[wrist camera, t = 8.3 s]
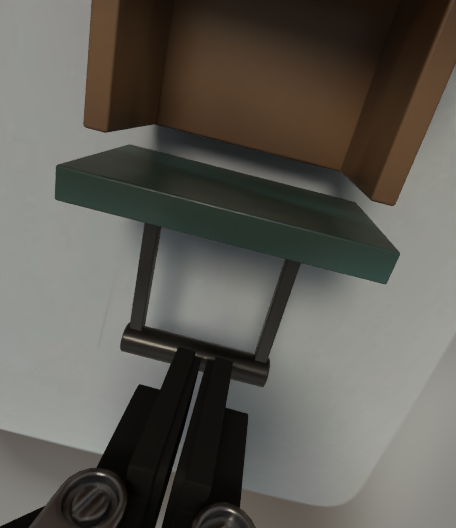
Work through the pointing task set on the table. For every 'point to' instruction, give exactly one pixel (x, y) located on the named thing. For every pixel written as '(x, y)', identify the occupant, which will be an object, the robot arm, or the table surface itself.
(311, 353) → the table surface
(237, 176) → the drawer
